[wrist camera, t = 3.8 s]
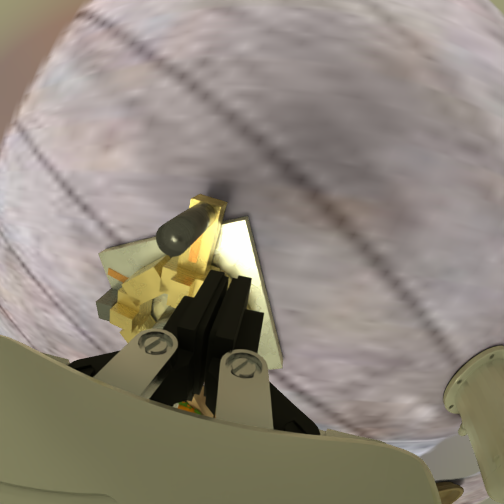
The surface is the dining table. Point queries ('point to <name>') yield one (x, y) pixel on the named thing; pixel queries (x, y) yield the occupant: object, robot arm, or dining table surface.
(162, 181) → the dining table surface
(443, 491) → the plant saucer
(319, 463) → the robot arm
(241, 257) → the housing plate
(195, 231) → the tan angular piece
